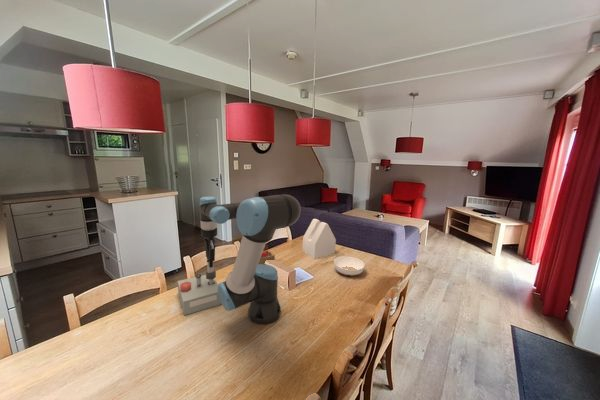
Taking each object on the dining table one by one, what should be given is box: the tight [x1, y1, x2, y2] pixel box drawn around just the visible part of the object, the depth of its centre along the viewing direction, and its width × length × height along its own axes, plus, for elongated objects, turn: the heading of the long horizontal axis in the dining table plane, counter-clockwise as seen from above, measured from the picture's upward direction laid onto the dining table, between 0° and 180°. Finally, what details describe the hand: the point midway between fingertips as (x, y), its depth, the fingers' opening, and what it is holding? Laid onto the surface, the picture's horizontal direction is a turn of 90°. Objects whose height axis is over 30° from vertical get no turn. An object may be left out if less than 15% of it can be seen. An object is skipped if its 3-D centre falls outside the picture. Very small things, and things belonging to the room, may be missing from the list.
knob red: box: [180, 282, 191, 292], centre depth 118 cm, size 5×5×9 cm
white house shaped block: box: [302, 218, 337, 260], centre depth 181 cm, size 19×15×25 cm
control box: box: [177, 274, 222, 316], centre depth 122 cm, size 20×17×7 cm
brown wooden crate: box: [258, 249, 276, 265], centre depth 164 cm, size 10×17×5 cm, turn 123°
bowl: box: [333, 255, 366, 277], centre depth 156 cm, size 20×20×6 cm
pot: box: [195, 273, 202, 287], centre depth 121 cm, size 3×3×6 cm
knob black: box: [205, 270, 217, 285], centre depth 124 cm, size 5×5×9 cm
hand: (210, 271), depth 123 cm, fingers closed
